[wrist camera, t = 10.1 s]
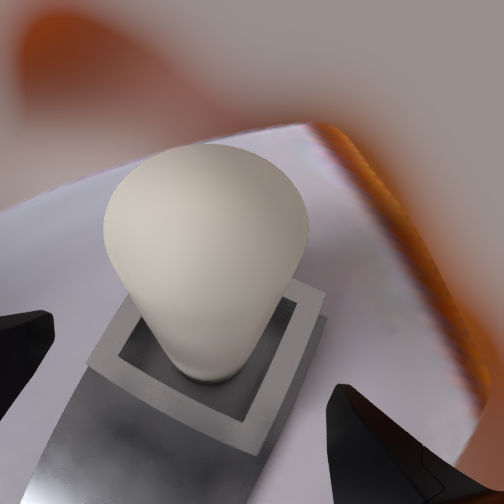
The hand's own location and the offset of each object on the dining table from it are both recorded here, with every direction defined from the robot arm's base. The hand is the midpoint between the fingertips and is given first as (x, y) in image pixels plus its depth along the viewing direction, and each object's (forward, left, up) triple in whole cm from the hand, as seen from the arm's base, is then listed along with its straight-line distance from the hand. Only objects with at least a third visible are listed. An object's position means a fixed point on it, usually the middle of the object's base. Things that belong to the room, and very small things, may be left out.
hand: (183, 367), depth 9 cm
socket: (-3, +1, -9) cm, 10 cm away
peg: (+3, +1, -8) cm, 9 cm away
